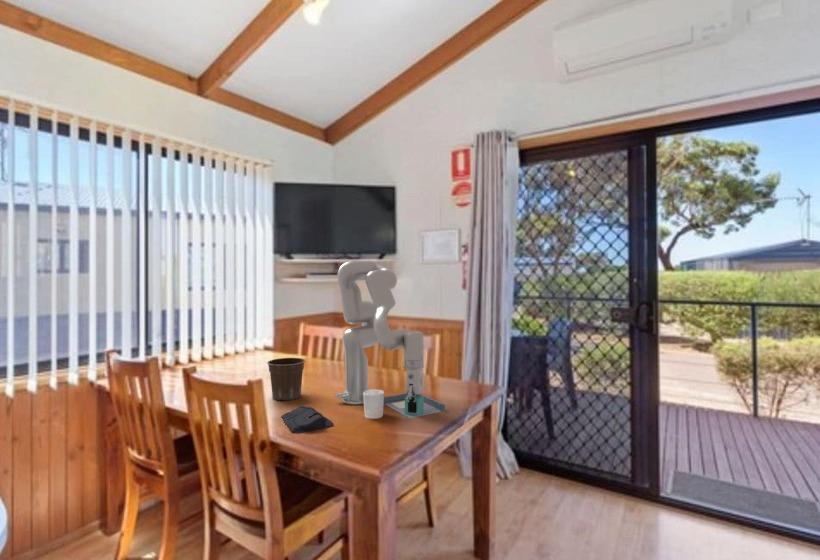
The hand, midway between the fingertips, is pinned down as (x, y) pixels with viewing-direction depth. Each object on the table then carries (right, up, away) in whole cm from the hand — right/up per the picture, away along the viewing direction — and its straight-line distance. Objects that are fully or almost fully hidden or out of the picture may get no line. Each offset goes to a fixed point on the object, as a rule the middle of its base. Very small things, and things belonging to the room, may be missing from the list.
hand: (414, 409), depth 173 cm
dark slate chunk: (-41, -4, -6) cm, 41 cm away
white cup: (-15, -3, -3) cm, 16 cm away
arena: (-1, -2, +7) cm, 7 cm away
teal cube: (0, -1, 0) cm, 1 cm away
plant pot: (-56, -2, +26) cm, 62 cm away
